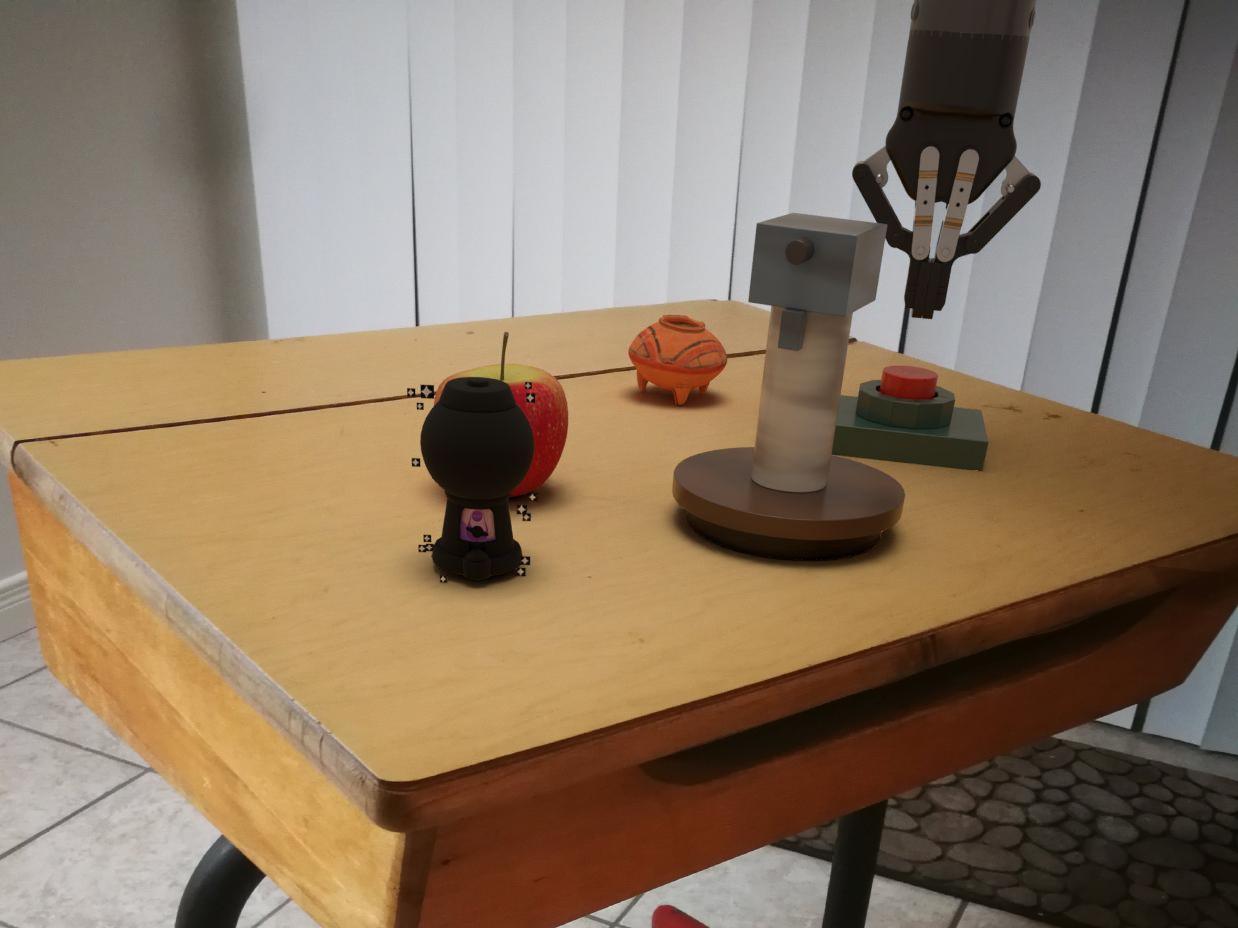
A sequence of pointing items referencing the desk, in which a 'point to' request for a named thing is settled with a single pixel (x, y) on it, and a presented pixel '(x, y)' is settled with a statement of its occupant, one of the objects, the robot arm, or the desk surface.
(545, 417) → the apple
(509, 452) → the gumball machine
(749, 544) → the base
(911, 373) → the button
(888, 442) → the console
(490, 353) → the desk surface
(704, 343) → the pot
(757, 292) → the grey-topped column stand
